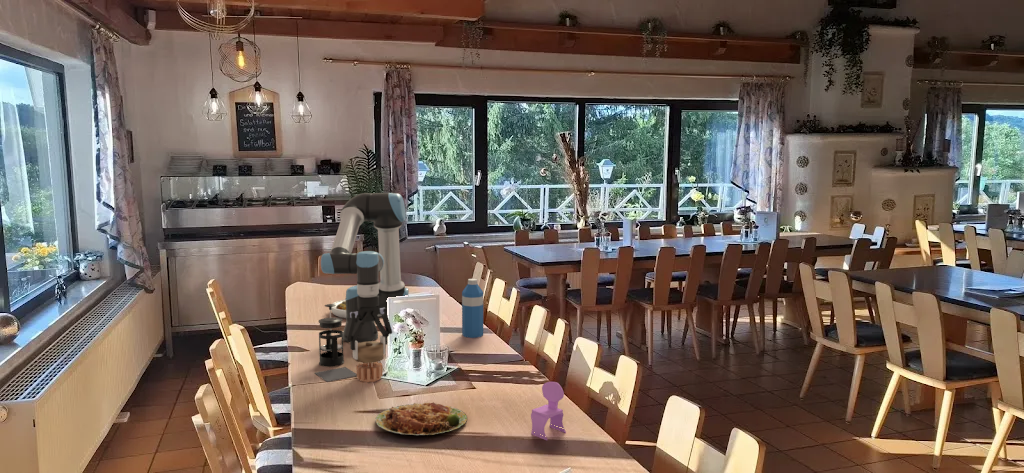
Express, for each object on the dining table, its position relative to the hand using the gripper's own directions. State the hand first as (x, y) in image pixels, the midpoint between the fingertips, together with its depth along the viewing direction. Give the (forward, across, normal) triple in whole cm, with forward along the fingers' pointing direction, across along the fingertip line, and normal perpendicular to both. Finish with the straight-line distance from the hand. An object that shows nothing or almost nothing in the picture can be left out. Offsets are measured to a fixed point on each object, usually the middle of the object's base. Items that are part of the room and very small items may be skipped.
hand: (369, 356), depth 260 cm
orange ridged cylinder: (+8, 0, 0) cm, 8 cm away
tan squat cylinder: (+1, 0, 0) cm, 1 cm away
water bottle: (+8, +63, +29) cm, 70 cm away
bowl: (+8, +41, +96) cm, 104 cm away
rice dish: (+9, -5, -47) cm, 48 cm away
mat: (+8, -8, +11) cm, 16 cm away
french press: (+8, -4, +25) cm, 27 cm away
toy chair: (+9, +21, -76) cm, 79 cm away
